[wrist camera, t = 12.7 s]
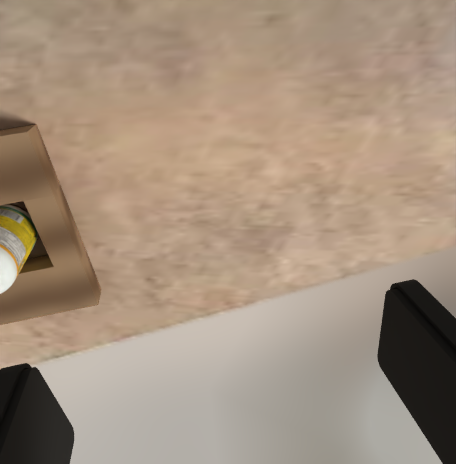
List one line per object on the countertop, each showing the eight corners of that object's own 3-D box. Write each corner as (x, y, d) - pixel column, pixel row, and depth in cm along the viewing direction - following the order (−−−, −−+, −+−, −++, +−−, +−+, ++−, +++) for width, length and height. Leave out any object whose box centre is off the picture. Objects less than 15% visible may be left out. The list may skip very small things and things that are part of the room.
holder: (-116, 149, 29) (-137, 158, 27) (36, 124, 30) (27, 131, 28) (-13, 312, 39) (-23, 329, 36) (101, 289, 40) (98, 304, 37)
